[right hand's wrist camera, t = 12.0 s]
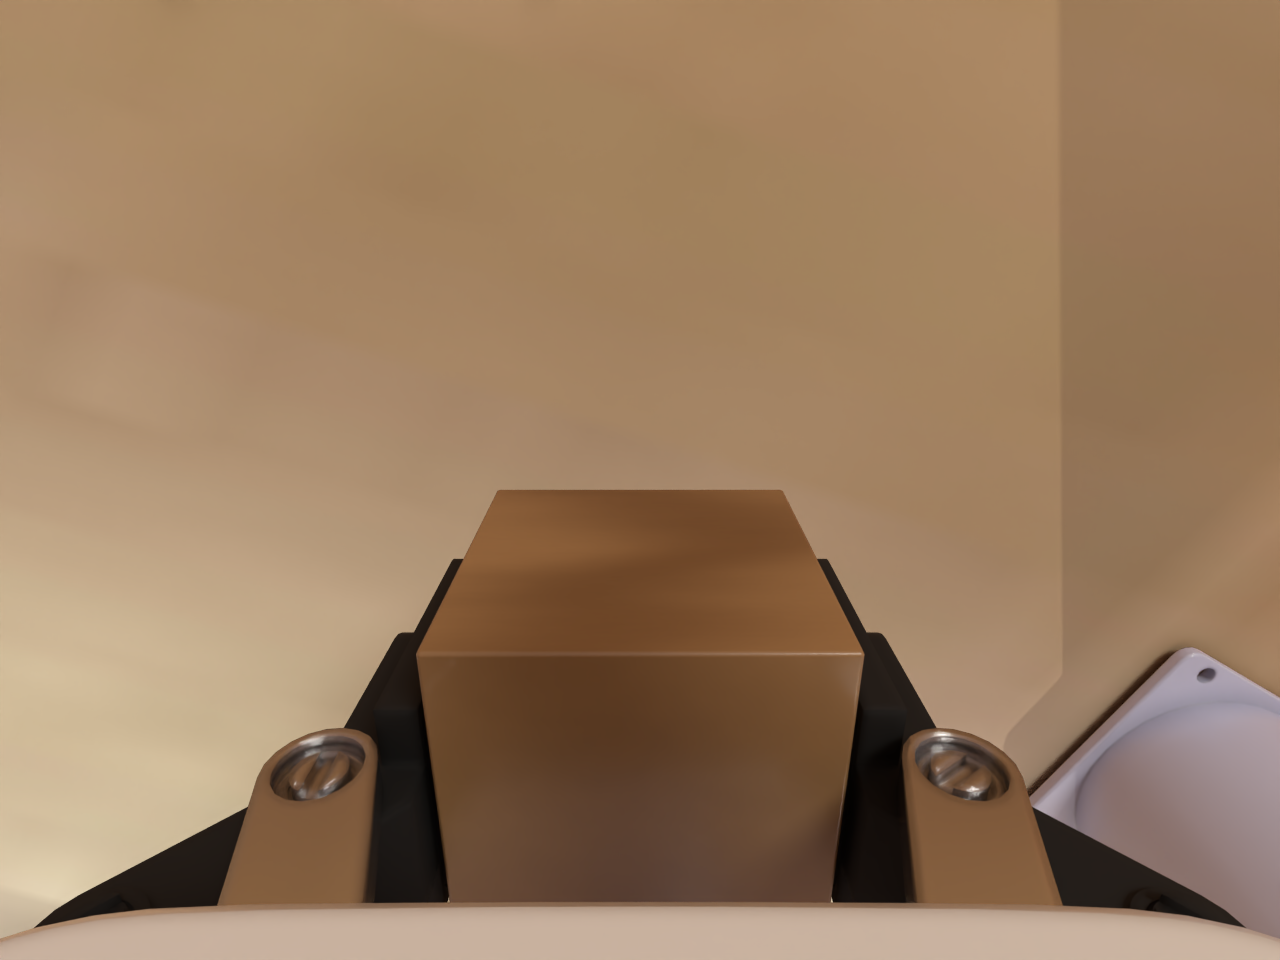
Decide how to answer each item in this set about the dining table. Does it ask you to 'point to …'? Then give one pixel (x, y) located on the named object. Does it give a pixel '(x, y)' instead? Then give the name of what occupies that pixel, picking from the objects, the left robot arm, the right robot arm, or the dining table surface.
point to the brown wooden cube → (640, 702)
